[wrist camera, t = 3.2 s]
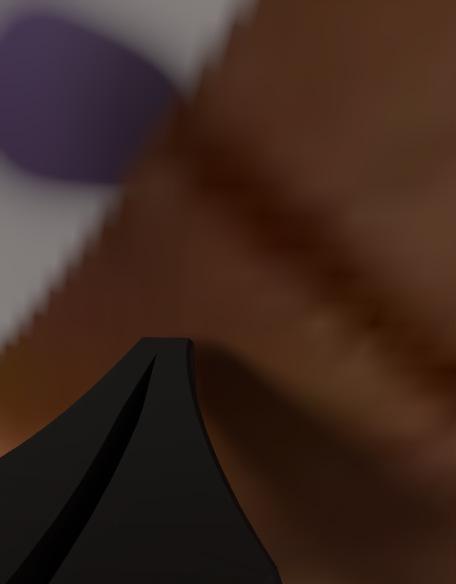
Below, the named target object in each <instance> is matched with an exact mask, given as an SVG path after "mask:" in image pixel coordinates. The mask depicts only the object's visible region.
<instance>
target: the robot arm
mask: <svg viewBox="0 0 456 584" xmlns="http://www.w3.org/2000/svg"><path fill="white" fill-rule="evenodd" d="M0 584H282V581H281V578H280V575H279V572H278V569H277V567H276V565H275V563H274V562H273V560H272V559H271V557H270V556H269V554H268V552H267V551H266V549H265V548H264V546H263V544H262V543H261V541H260V539H259V538H258V536H257V535H256V533H255V531H254V530H253V528H252V526H251V524H250V523H249V521H248V519H247V517H246V515H245V514H244V512H243V510H242V508H241V506H240V505H239V503H238V501H237V499H236V497H235V495H234V493H233V491H232V489H231V487H230V485H229V483H228V481H227V478H226V476H225V474H224V472H223V470H222V468H221V466H220V464H219V461H218V459H217V456H216V454H215V452H214V449H213V447H212V444H211V441H210V439H209V436H208V433H207V431H206V428H205V425H204V422H203V418H202V415H201V412H200V408H199V405H198V401H197V397H196V381H195V362H194V344H193V341H191V340H190V339H189V338H151V337H143V338H142V339H140V340H139V341H138V342H137V343H136V344H135V345H134V346H133V347H132V348H131V349H130V350H129V351H128V352H127V353H126V354H125V356H124V357H123V358H122V359H121V360H120V361H119V362H118V363H117V364H116V365H115V366H114V367H113V368H112V369H111V370H110V371H109V372H108V373H107V374H106V375H104V376H103V377H102V378H101V379H100V380H99V381H98V382H97V383H96V384H95V385H94V386H93V387H92V388H91V389H90V390H89V391H88V392H87V393H85V394H84V395H83V396H82V397H81V398H80V399H79V400H77V401H76V402H75V403H74V404H73V405H72V406H70V407H69V408H68V409H67V410H66V411H65V412H64V413H62V414H61V415H60V416H59V417H57V418H56V419H55V420H54V421H52V422H51V423H50V424H48V425H47V426H46V427H44V428H43V429H42V430H40V431H39V432H37V433H36V434H35V435H33V436H32V437H31V438H29V439H28V440H26V441H25V442H24V443H22V444H21V445H19V446H18V447H16V448H15V449H13V450H11V451H10V452H8V453H7V454H5V455H4V456H2V457H1V458H0Z"/></svg>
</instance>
